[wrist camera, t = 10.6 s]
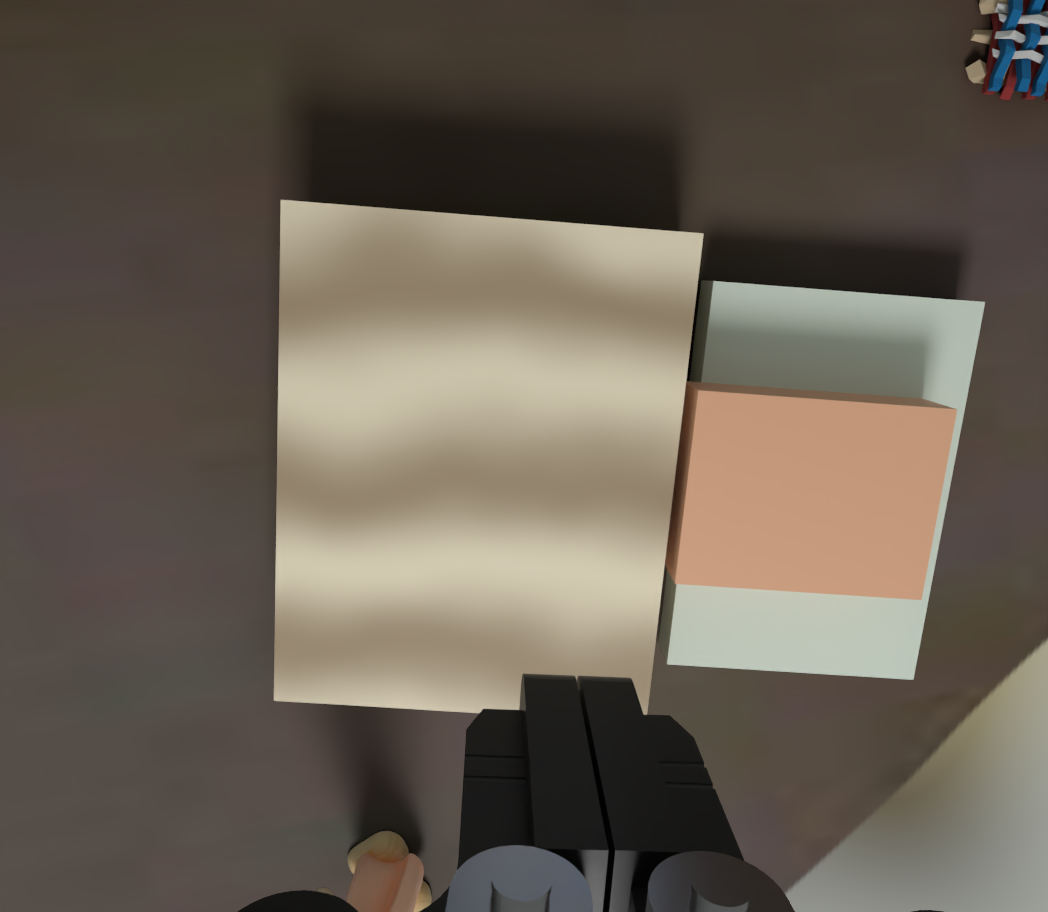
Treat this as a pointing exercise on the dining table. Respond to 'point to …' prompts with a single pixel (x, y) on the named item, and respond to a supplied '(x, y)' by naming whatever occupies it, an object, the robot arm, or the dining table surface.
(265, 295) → the dining table surface
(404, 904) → the grandmother figurine
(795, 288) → the mat
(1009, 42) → the woven mat
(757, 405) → the tile
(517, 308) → the beige flat block
